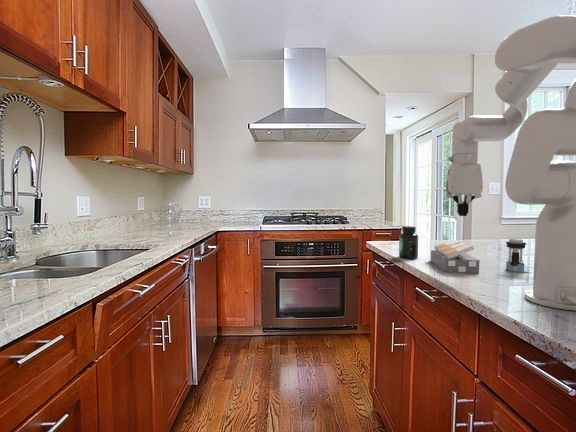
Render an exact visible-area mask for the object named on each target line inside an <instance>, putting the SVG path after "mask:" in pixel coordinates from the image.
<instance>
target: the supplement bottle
mask: <svg viewBox="0 0 576 432" xmlns="http://www.w3.org/2000/svg"><path fill="white" fill-rule="evenodd" d="M416 229H417V227H416V226H411V225H410V226H409V225H408V226H407V225H406V226H402V227H401V232H402V233H400V234H399V235H398V237H399V242H398V245H399V247H398V249H399V250H398V256H399V258H400V259H403V260H417V259H418V258H419V235H418V234H417V233H416V232H417V231H416Z"/></svg>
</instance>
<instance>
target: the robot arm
mask: <svg viewBox="0 0 576 432" xmlns="http://www.w3.org/2000/svg"><path fill="white" fill-rule="evenodd" d="M494 64H495V65H496V68H497V69H498V70H500V71H504V73H503V75H502V76H501V77H500V79H498V81H497V82H496V84H495V88H494V90H495V94H496V96H497V97H498V98H499V99H500V100H501V101H503V102H504V103H505V104H507V105H508V108H507V109H506V110H505V111H504V112H503V113H502V114H501V115H471V116H468V117H466V118H465V119H463V120H462V121H459V122H456V123H455V124H454V125H453V126H452V142H451V143H452V145H451V148H452V149H451V155H450V156H447V159H446V161H447V162H450V163H451V164H450V165H449V166H448V171H447V176H446V183H445V185H446V186H445V191H446V193H445V197H446V198H448V199H451V200H453V201H454V202H455V203H456V205H457V208H456V209H457V210H456V213H457V214H458V216H459V217H467V216H468V214H469V207H470V206H469V205H470V204H471V202H472V201H474V200H476V199H479V198H482V193H483V191H484V189H483V188H484V187H483V186H484V185H483V184H484V182H483V181H484V180H483V173H482V170H483V169H482V165H481V163H478V161H479V159H478V157H479V155H478V154H479V142H501V141H504V140H506V139H507V138H509V137H510V136H512V135H513V133H515V132H516V130H518V128H519V127H520V128H519V130H518V132H517V135H516V138H515V142H514V146H513V151H512V153H511V158H510V162H509V164H508V168H507V172H506V176H505V182H504V183H505V187H504V188H505V193H506V195H507V197H508V199H510V200H511V201H512V202H514V203H516V204H519V205H526V206H527V205H533V206H534V205H544V206H543V208H542V210H541V211H540V213H539V214H538V217H537V220H536V223H535V236H534V254H533V255H534V257H533V259H534V261H533V280H532V282H533V283H532V289H528V290H525V292H524V298H525V299H526V300H527V301H529V302H532V303H534V304H537V305H540V306H542V307H543V306H544V307H549V308H553V309H558V310H565V311H576V160H575V161H574V160H554V158H555V156H556V157H560V156H561V157H564V156H567V157H569V156H570V157H573V156H576V78H575V79H574V80H573V82H572V84H571V85H570V87H569V89H568V91H567V92H568V93H567V94H566V96H567V97H566V99H565V101H564V104H563V106H562V107H561V108H544V109H539V110H537V111H535V112H533V113H531V114H530V115H529V116H528V117H527V118H526V119H525V117H526V116H527V113H528V105H529V104H528V98H529V97H530V96H531V95H532V93H534V91H535V90H536V89H537V88H538V87H539V86H540V84H541V83H542V82H543V81H544V80H545V79H546V78H547V77H548V75H550V74H551V72H552V71H553V70H554V69H555V68H556V66H558V64H576V15H554V16H550V17H547V18H544V19H541V20H539V21H537V22H534V23H532V24H528V25H526V26H524V27H521V28H519V29H516V30H514V31H512V32H510V34H508V35H507V36H505V38H504V39H503V40H502V41H501V43H499V45H498V47H497V49H496V52H495V55H494ZM463 195H464V198H463Z"/></svg>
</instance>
